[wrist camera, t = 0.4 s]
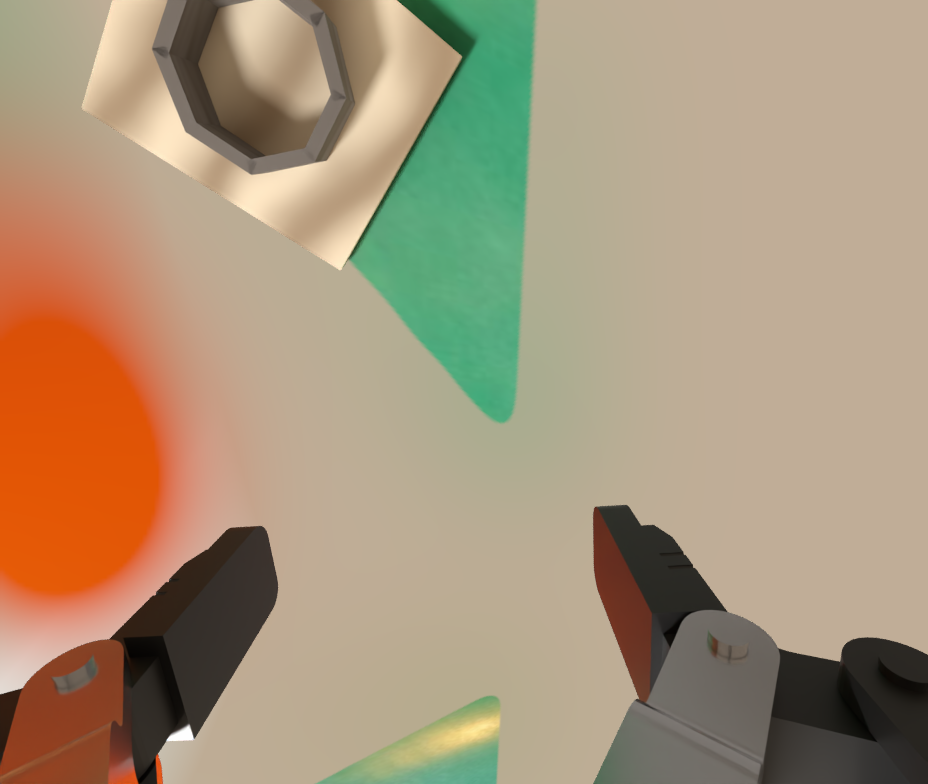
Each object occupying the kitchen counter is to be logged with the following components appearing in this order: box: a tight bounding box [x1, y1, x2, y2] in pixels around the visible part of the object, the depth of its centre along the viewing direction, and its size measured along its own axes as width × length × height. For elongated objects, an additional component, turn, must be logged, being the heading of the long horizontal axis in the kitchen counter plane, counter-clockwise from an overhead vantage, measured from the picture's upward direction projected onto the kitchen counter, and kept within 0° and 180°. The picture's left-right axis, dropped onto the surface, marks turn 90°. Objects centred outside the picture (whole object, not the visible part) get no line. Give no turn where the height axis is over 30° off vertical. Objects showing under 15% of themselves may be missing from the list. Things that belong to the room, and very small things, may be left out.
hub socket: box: [82, 0, 462, 270], centre depth 28 cm, size 18×16×5 cm
